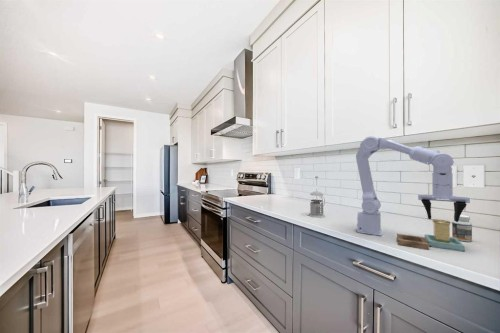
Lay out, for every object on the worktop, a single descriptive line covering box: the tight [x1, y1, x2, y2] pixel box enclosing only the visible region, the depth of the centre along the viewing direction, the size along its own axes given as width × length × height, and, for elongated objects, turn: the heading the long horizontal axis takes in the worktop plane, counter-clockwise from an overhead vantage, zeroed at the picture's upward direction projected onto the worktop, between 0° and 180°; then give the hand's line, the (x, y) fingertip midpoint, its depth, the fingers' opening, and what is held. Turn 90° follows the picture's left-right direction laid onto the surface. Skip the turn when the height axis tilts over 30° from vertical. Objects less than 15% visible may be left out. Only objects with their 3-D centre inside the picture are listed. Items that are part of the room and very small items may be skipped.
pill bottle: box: [451, 214, 473, 243], centre depth 85 cm, size 6×6×10 cm
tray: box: [424, 233, 466, 252], centre depth 79 cm, size 10×10×2 cm
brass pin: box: [432, 218, 451, 243], centre depth 79 cm, size 5×5×9 cm
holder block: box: [396, 233, 430, 251], centre depth 80 cm, size 9×9×2 cm
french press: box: [308, 176, 326, 219], centre depth 129 cm, size 10×12×25 cm
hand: (442, 219), depth 79 cm, fingers open, 7 cm apart
